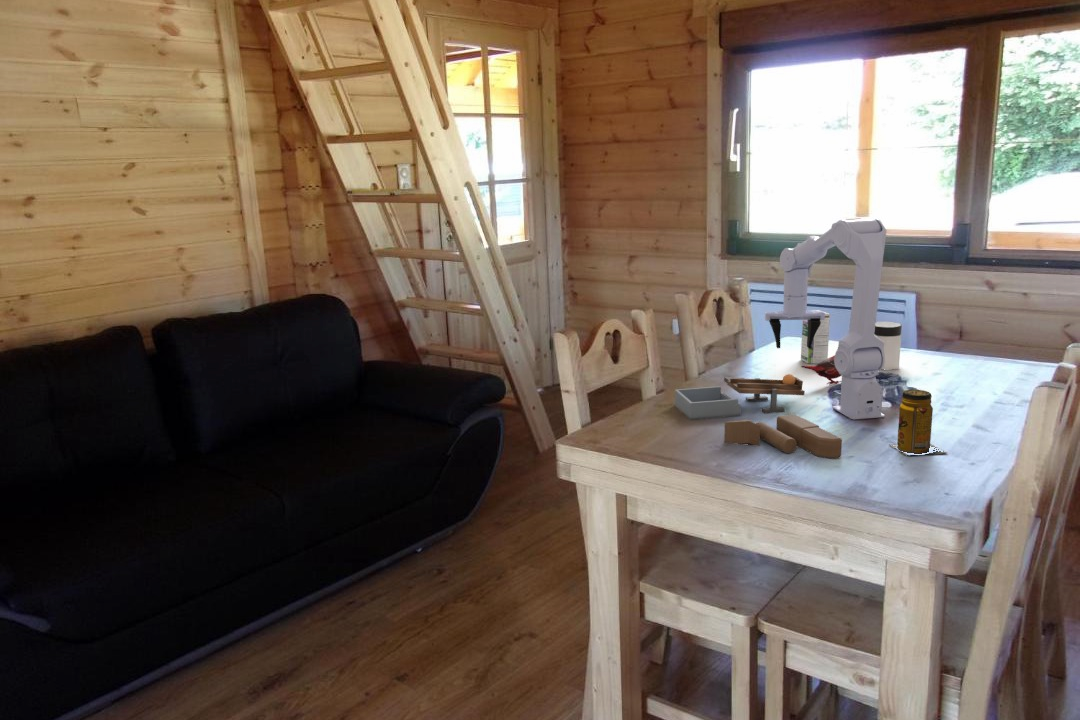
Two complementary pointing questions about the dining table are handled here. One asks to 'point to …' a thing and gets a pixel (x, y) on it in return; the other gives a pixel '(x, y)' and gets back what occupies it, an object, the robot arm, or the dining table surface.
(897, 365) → the jar
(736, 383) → the wooden rack
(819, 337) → the syrup box
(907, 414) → the condiment
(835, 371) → the red pointed-tail figurine
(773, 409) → the lever stand
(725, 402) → the tray
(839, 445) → the wooden block set
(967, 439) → the dining table surface
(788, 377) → the ball
